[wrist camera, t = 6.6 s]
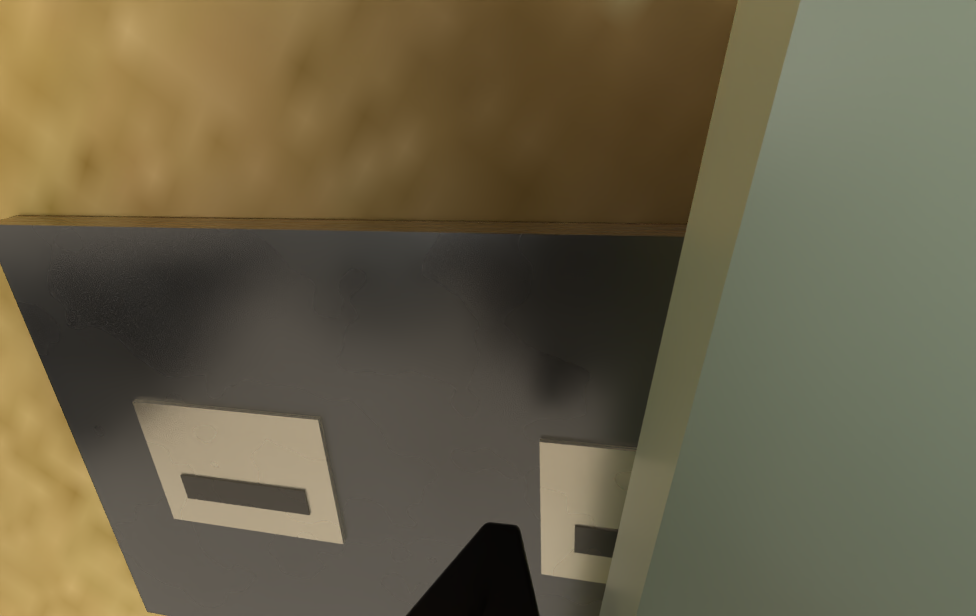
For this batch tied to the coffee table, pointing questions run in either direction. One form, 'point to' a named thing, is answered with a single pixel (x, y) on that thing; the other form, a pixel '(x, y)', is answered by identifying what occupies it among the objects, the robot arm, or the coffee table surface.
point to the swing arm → (819, 331)
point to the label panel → (347, 397)
